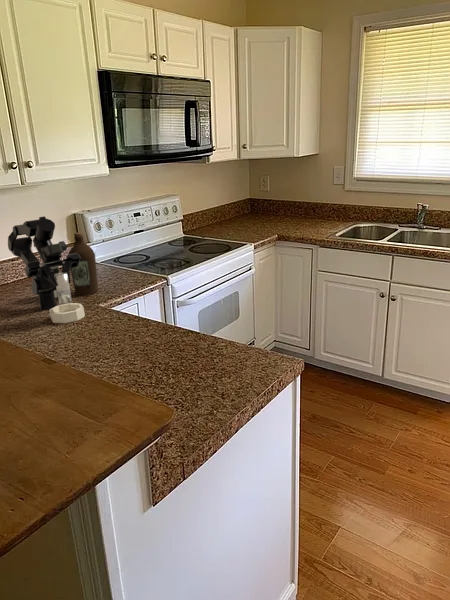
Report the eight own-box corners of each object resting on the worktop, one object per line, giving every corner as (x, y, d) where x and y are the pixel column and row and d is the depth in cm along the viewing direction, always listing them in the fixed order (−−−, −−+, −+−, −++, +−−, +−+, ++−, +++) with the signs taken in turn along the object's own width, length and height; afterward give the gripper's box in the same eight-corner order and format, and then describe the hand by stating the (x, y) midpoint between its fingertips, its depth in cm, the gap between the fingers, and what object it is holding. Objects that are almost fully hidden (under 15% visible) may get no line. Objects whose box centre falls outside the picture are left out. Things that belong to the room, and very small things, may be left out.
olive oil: (79, 289, 206) (70, 231, 198) (103, 288, 205) (95, 230, 197) (70, 296, 196) (60, 236, 188) (95, 295, 195) (86, 235, 187)
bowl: (49, 316, 173) (47, 307, 172) (80, 310, 178) (78, 301, 177) (54, 325, 164) (53, 315, 163) (86, 318, 169) (85, 309, 168)
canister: (56, 302, 169) (51, 274, 166) (67, 298, 172) (63, 271, 169) (62, 304, 166) (58, 276, 163) (74, 300, 170) (69, 273, 166)
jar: (44, 300, 193) (39, 271, 189) (39, 296, 199) (34, 268, 196) (66, 295, 197) (62, 267, 194) (61, 291, 204) (56, 264, 200)
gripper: (21, 239, 160) (40, 276, 155) (74, 230, 171) (92, 265, 167) (18, 258, 168) (35, 295, 163) (68, 249, 179) (86, 282, 175)
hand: (63, 284), depth 167 cm, fingers closed on canister, 4 cm apart
